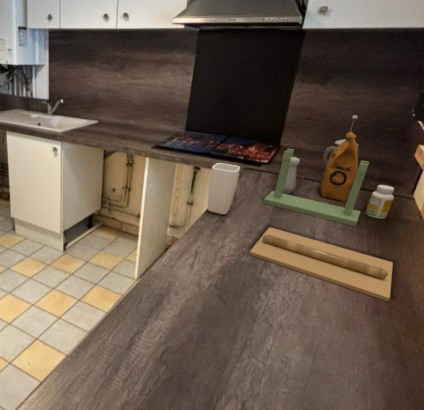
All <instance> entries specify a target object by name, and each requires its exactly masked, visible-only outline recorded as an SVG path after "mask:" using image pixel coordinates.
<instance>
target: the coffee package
mask: <svg viewBox="0 0 424 410" xmlns="http://www.w3.org/2000/svg"><path fill="white" fill-rule="evenodd" d="M345 137H346V139H344V140H345V141H344V142H343V143H341V144H340V145H337V146H336V149H335V148H334V150H333V151H332V152H331V155H330V156H329V158H328V159H327V162H328V163H327V162H326V165H325V166H324V169H323V172H322V177H321V182H320V195H321V197H323V198H328V199H329V200H330V199H331V200H336V201H341V202H347V200H348V197H349V194H350V191H351V188H352V185H353V182H354V180H355V177H356V174H357V170H358V168H359V147H358V146H359V145H358V146H357V144H358V143H357V141H356V138H357V135H356V134H355V133H354V132H352V131H351V132H350V131H349V132H347V133H346V134H345Z"/></svg>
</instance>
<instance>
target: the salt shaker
mask: <svg viewBox="0 0 424 410" xmlns="http://www.w3.org/2000/svg"><path fill="white" fill-rule="evenodd" d="M290 158H291V162H290V166H289V170H288V174H287V178H286V181H285V185H284V189H283V194H287V195H291V193H292V192H293V191H294V190H295V189H296V185H297V172H298V171H297V169H298V166H299V165H300V163H301V159H300V158H299V157H296V156H292V157H290Z"/></svg>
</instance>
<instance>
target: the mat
mask: <svg viewBox="0 0 424 410" xmlns="http://www.w3.org/2000/svg"><path fill="white" fill-rule="evenodd" d="M264 235H271V236H274V237H278V238H281V239H284V240H288V241H291V242H295V243H298V244H301V245H305V246H308V247H311V248H315V249H318V250H321V251H325V252H328V253H331V254H335V255H338V256H341V257H345V258H348V259H351V260H355V261H358V262H361V263H365V264H368V265H372V266H375V267H378V268H382V269H384V270H386V271H387V273H388V276H387V277H386V278H383V279H381V278H377V277H374V276H371V275H368V274H365V273H361V272H358V271H355V270H352V269H349V268H345V267H342V266H339V265H336V264H333V263H329V262H326V261H323V260H320V259H317V258H313V257H310V256H307V255H304V254H301V253H297V252H294V251H291V250H288V249H285V248H281V247H278V246H275V245H272V244H269V243H265V242H264V241H263V236H264ZM248 255H249V256H252V257H254V258H258V259H261V260H264V261H266V262H270V263H272V264H276V265H278V266H282V267H285V268H288V269H290V270H294V271H297V272H299V273H302V274H305V275H308V276H311V277H314V278H317V279H320V280H323V281H325V282H329V283H332V284H335V285H337V286H341V287H343V288H346V289H349V290H352V291H354V292H355V291H356V292H358V293H361V294H364V295H367V296H370V297H373V298H376V299H379V300H382V301H385V302H387V303H388V302H390V299H391V289H392V279H393V278H392V277H393V267H394V266H393V265H394V263H393V261H389V260H386V259H382V258H378V257H376V256H372V255H368V254H365V253H361V252H358V251H354V250H350V249H348V248H343V247H340V246H336V245H333V244H330V243H327V242H324V241H320V240H315V239H313V238H309V237H305V236H302V235H299V234H295V233H291V232H288V231H285V230H282V229H278V228H274V227H271V226H269V227H268V228H267V230H265V231H264V233H263V234H262V236H261V237H260V238H259V239H258V241H257V242H256V243H255V244H254V245H253V247H252V248H251V249H250V251H249V253H248Z"/></svg>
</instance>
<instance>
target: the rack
mask: <svg viewBox="0 0 424 410" xmlns="http://www.w3.org/2000/svg"><path fill="white" fill-rule="evenodd" d="M294 152H295V149H292V148H287V149H286V150H284V151H283V155H282V161H281V166H280V169H279V174H278V176H277V177H278V178H277V181H276V186H275V189H274V190H271V191H270V192H269V193H268V194H267V195H266V196H265V197H264V198H263V201H262V203H263V204H264V205H269V206H272V207H277V208H281V209H284V210H288V211H292V212H296V213H300V214H305V215H308V216H312V217H316V218H320V219H323V220H324V219H325V220H328V221H332V222H336V223H339V224H343V225H346V226H347V225H348V226H352V227H356V226H357V223H358V221H359V219H360V215H361V210H356V209H354V207H355V205H356V201H357V199H358V196H359V193H360V190H361V187H362V185H363V182H364V179H365V176H366V173H367V170H368V167H369V165H370V161H366V160H360V163H359V164H358V167H357V174H356V177H355V180H354V182H353V185H352V188H351V191H350V194H349V197H348V198H347V200H346V203H345V207H344V206H339V205H335V204H330V203H325V202H322V201H317V200H314V199H308V198H305V197H300V196H295V195H291V194H284V193H283V189H284V185H285V181H286V178H287V174H288V170H289V166H290V162H291V158H290V157H294Z"/></svg>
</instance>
